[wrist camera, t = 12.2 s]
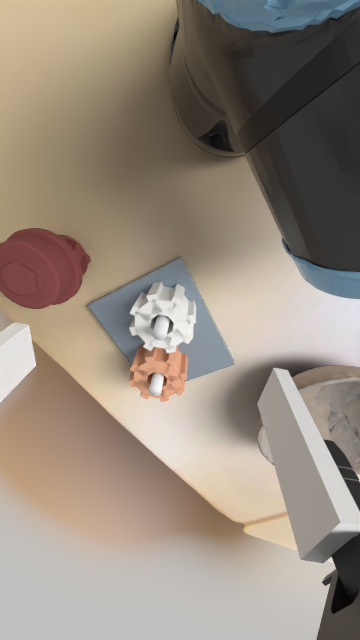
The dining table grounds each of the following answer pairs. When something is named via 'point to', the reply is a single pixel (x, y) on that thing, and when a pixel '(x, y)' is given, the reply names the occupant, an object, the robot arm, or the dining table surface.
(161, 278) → the gear board
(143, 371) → the terracotta gear
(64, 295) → the mechanical component
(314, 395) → the bowl
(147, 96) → the dining table surface
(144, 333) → the white gear
